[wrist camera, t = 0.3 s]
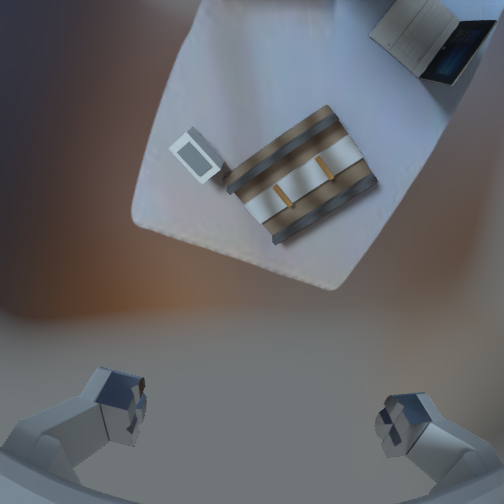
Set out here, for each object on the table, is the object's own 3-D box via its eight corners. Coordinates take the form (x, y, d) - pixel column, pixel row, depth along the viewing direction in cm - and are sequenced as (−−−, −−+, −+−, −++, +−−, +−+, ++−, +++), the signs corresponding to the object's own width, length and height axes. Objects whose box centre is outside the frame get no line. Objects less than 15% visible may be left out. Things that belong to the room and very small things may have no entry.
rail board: (326, 104, 49) (331, 107, 46) (375, 179, 56) (381, 187, 53) (223, 177, 58) (221, 185, 55) (279, 239, 66) (279, 250, 63)
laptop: (413, -22, 31) (446, -35, 21) (459, 22, 35) (498, 21, 24) (367, 35, 41) (394, 30, 30) (417, 79, 44) (453, 87, 33)
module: (193, 126, 53) (186, 132, 48) (224, 160, 56) (220, 170, 52) (176, 141, 54) (168, 149, 50) (206, 174, 58) (201, 185, 54)
